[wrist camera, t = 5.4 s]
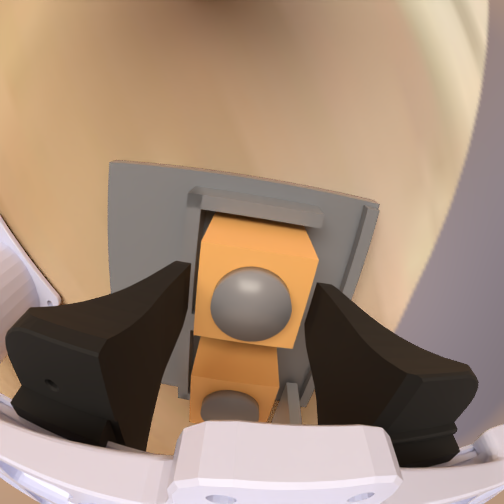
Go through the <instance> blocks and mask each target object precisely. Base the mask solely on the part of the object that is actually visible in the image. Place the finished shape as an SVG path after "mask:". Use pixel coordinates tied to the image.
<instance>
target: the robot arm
mask: <svg viewBox="0 0 504 504" xmlns="http://www.w3.org/2000/svg"><path fill="white" fill-rule="evenodd" d="M190 273H191V263H188V262H182V261H174V262H172V263H171V264H169V265H167V266H166V267H164V268H162V269H161V270H159V271H157V272H156V273H154V274H152V275H150V276H149V277H147V278H145V279H143V280H141V281H139V282H137V283H135V284H133V285H131V286H129V287H127V288H125V289H122V290H120V291H117V292H114V293H112V294H109V295H106V296H102V297H99V298H95V299H91V300H88V301H84V302H79V303H73V304H67V305H60V303H61V297H60V296H59V294H58V293H57V292H56V291H55V289H54V288H53V287H52V286H51V285H50V283H49V282H48V281H47V280H46V279H45V277H44V276H43V275H42V273H41V272H40V271H39V270H38V268H37V267H36V266H35V264H34V263H33V262H32V261H31V259H30V258H29V257H28V255H27V254H26V252H25V251H24V250H23V248H22V247H21V245H20V244H19V243H18V241H17V240H16V238H15V237H14V235H13V234H12V232H11V231H10V229H9V228H8V226H7V225H6V223H5V222H4V220H3V219H2V217H1V216H0V363H1V362H2V361H3V360H4V358H5V357H6V356H7V355H8V356H9V359H10V361H11V363H12V365H13V368H14V370H15V372H16V374H17V376H18V378H19V381H20V383H21V385H22V386H21V387H20V389H19V390H18V392H17V393H16V395H15V396H14V398H13V399H10V398H9V397H7V396H5V395H3V394H2V393H0V478H2V479H3V480H5V481H6V482H7V483H9V484H10V485H12V486H13V487H15V488H17V489H18V490H19V491H21V492H23V493H24V494H26V495H27V496H29V497H31V498H32V499H34V500H36V501H37V502H39V503H41V504H484V503H486V502H487V501H489V500H490V499H491V498H493V497H494V496H496V495H497V494H498V493H500V492H501V491H502V490H504V424H501V425H498V426H495V427H493V428H490V429H488V430H486V431H485V432H483V433H482V434H481V435H480V436H479V437H478V438H477V439H476V440H475V441H474V443H473V444H471V445H468V446H464V447H461V448H459V447H458V445H457V443H456V440H455V438H454V436H453V434H455V433H456V432H457V427H456V425H455V423H454V422H455V421H456V419H457V418H458V417H459V416H460V415H461V414H462V412H463V411H464V410H465V409H466V408H467V406H468V405H469V404H470V402H471V401H472V399H473V398H474V396H475V394H476V391H477V388H478V380H477V377H476V376H475V374H474V373H473V371H472V370H471V368H470V367H469V366H468V365H467V364H464V363H460V362H457V361H454V360H450V359H447V358H444V357H441V356H439V355H436V354H433V353H431V352H429V351H426V350H424V349H422V348H420V347H418V346H416V345H414V344H412V343H410V342H408V341H406V340H404V339H403V338H401V337H399V336H397V335H396V334H394V333H393V332H391V331H390V330H388V329H387V328H385V327H384V326H382V325H381V324H379V323H378V322H377V321H376V320H374V319H373V318H372V317H370V316H369V315H368V314H367V313H365V312H364V311H363V310H362V309H361V308H359V307H358V306H357V305H356V304H355V303H354V302H352V301H351V300H350V299H349V298H348V297H347V296H346V295H344V294H343V293H342V292H341V291H340V290H339V289H337V288H336V287H335V286H333V285H332V284H326V283H319V282H317V284H316V287H315V290H314V294H313V297H312V300H311V304H310V307H309V310H308V313H307V317H306V320H305V323H304V329H305V344H306V349H307V354H308V359H309V363H310V368H311V372H312V377H313V382H314V386H315V392H316V401H317V414H318V425H298V424H278V423H265V422H253V421H244V420H208V421H205V422H202V423H199V424H195V425H192V426H189V427H186V428H184V429H183V431H182V433H181V434H180V436H179V438H178V439H177V443H176V447H175V452H174V455H160V454H153V453H149V452H146V447H147V441H148V436H149V432H150V427H151V422H152V417H153V413H154V409H155V405H156V400H157V396H158V392H159V389H160V385H161V381H162V378H163V375H164V372H165V369H166V366H167V364H168V362H169V359H170V357H171V354H172V352H173V350H174V347H175V345H176V342H177V340H178V338H179V335H180V333H181V330H182V328H183V325H184V321H185V317H186V313H187V310H188V301H189V287H190ZM51 302H52V303H51Z"/></svg>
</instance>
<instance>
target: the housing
mask: <svg viewBox="0 0 504 504" xmlns="http://www.w3.org/2000/svg"><path fill="white" fill-rule="evenodd" d="M379 205H380V204H378V203H377V202H376V201H374V200H371V199H366V198H362V197H358V196H353V195H349V194H344V193H340V192H335V191H331V190H326V189H321V188H316V187H311V186H306V185H301V184H296V183H290V182H285V181H279V180H273V179H268V178H262V177H256V176H249V175H243V174H236V173H230V172H223V171H216V170H208V169H201V168H193V167H184V166H176V165H167V164H157V163H146V162H135V161H123V160H115V161H112V162H110V163H109V183H108V252H109V272H110V286H111V294H112V293H114V292H117V291H120V290H122V289H125V288H127V287H129V286H131V285H133V284H135V283H137V282H139V281H141V280H143V279H145V278H147V277H149V276H150V275H152V274H154V273H156V272H157V271H159V270H161V269H162V268H164V267H166V266H167V265H169V264H171V263H172V262H174V261H182V262H188V263H191V273H190V287H189V301H188V310H187V313H186V317H185V321H184V325H183V328H182V330H181V333H180V335H179V338H178V340H177V342H176V345H175V347H174V350H173V352H172V354H171V357H170V359H169V362H168V364H167V366H166V369H165V372H164V375H163V378H162V381H161V383H162V384H167V385H172V386H177V387H178V398H182V399H187V400H190V389H191V374H192V369H193V365H194V361H195V357H196V353H197V349H198V345H199V341H200V337H201V336H197V335H193V333H194V319H195V305H196V293H197V281H198V270H199V259H200V249H201V241H202V239H203V237H204V235H205V233H206V231H207V229H208V227H209V224H210V222H211V220H212V218H213V216H214V214H215V212H216V211H217V212H223V213H230V214H236V215H243V216H249V217H255V218H262V219H268V220H274V221H280V222H286V223H291V224H297V225H303V226H304V227H305V229H306V232H307V234H308V236H309V238H310V241H311V243H312V245H313V247H314V250H315V252H316V254H317V257H318V259H319V261H318V265H317V269H316V272H315V276H314V280H313V283H312V287H311V290H310V293H309V297H308V300H307V304H306V307H305V310H304V314H303V317H302V320H301V323H300V327H299V330H298V333H297V336H296V339H295V342H294V346H293V349H290V348H281V347H277V359H278V374H279V390H278V392H277V395H276V398H275V400H277V401H280V399H281V396H282V393H283V391H284V388H285V385H286V382H287V383H297V385H298V393H299V401H300V407H306V406H307V404H308V402H309V400H310V398H311V396H312V394H313V391H314V389H315V386H314V382H313V377H312V372H311V368H310V363H309V359H308V354H307V349H306V344H305V329H304V323H305V320H306V317H307V313H308V310H309V307H310V304H311V300H312V297H313V294H314V290H315V287H316V284H317V282H319V283H326V284H332V285H333V286H335V287H336V288H337V289H339V290H340V291H341V292H342V293H343V294H344V295H346V296H347V297H348V298H349V299H350V300H351V299H352V296H353V294H354V291H355V288H356V285H357V282H358V279H359V276H360V273H361V270H362V267H363V264H364V261H365V258H366V255H367V252H368V249H369V245H370V242H371V239H372V235H373V232H374V229H375V225H376V222H377V218H378V214H379V210H378V208H379Z"/></svg>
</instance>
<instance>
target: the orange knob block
mask: <svg viewBox="0 0 504 504" xmlns="http://www.w3.org/2000/svg"><path fill="white" fill-rule="evenodd" d="M318 261H319V259H318V257H317V254H316V252H315V250H314V247H313V245H312V243H311V241H310V238H309V236H308V234H307V232H306V229H305V227H304V226H303V225H297V224H291V223H286V222H280V221H274V220H268V219H262V218H255V217H249V216H243V215H236V214H230V213H223V212H217V211H216V212H215V214H214V216H213V218H212V220H211V222H210V224H209V227H208V229H207V231H206V233H205V235H204V237H203V239H202V241H201V249H200V259H199V270H198V281H197V293H196V305H195V319H194V333H193V335H197V336H203V337H209V338H215V339H221V340H228V341H234V342H241V343H249V344H256V345H264V346H272V347H281V348H290V349H293V346H294V342H295V339H296V336H297V333H298V330H299V327H300V323H301V320H302V317H303V314H304V310H305V307H306V304H307V300H308V297H309V293H310V290H311V287H312V283H313V280H314V276H315V272H316V269H317V265H318Z"/></svg>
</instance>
